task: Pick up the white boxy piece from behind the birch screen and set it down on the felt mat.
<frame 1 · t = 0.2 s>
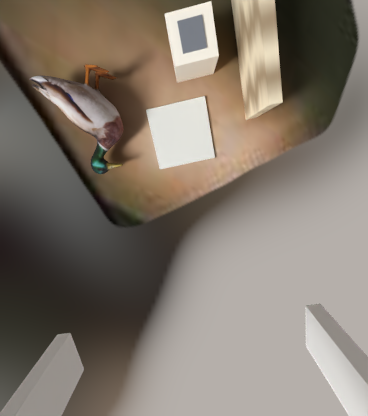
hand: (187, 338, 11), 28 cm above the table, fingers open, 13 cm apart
white boxy piece: (191, 57, 31), on the table
decorative duck model: (91, 123, 34), on the table
felt mat: (181, 134, 34), on the table
birch screen: (242, 51, 31), on the table
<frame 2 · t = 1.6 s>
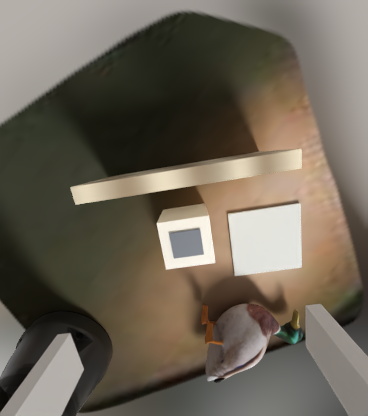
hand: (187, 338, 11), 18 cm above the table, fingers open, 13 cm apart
white boxy piece: (187, 225, 29), on the table
decorative duck model: (239, 324, 33), on the table
felt mat: (265, 240, 29), on the table
birch screen: (185, 170, 27), on the table
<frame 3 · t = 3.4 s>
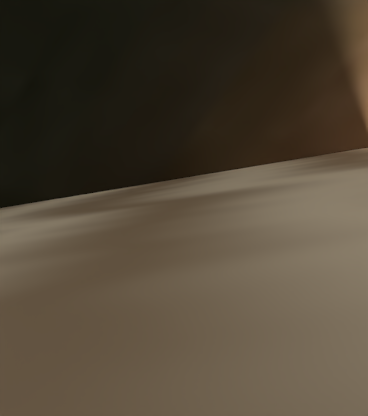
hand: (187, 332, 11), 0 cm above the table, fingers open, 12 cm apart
birch screen: (166, 197, 10), on the table
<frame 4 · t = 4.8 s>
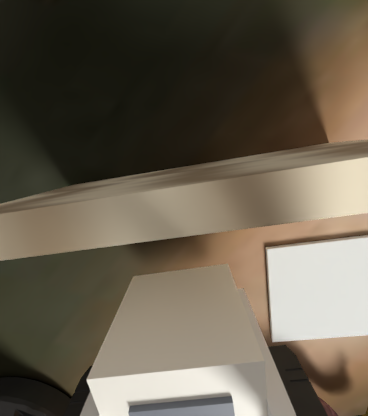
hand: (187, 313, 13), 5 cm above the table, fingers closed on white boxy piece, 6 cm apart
white boxy piece: (187, 309, 13), point 5 cm above the table, touching gripper
felt mat: (325, 290, 18), on the table
birch screen: (195, 175, 16), on the table
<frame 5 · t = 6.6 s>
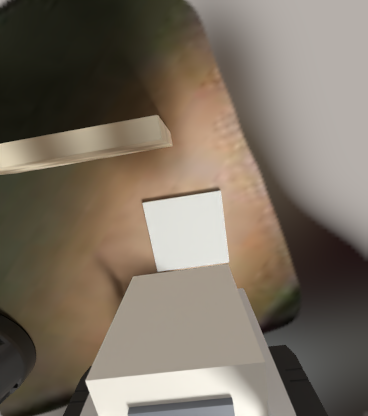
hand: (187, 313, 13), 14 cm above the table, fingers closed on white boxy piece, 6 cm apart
white boxy piece: (187, 310, 13), point 14 cm above the table, touching gripper
felt mat: (187, 232, 26), on the table
birch screen: (90, 153, 24), on the table
when the fingers open (1 cm above the table, at t = 8.8 s): white boxy piece stays where it is, resting on felt mat.
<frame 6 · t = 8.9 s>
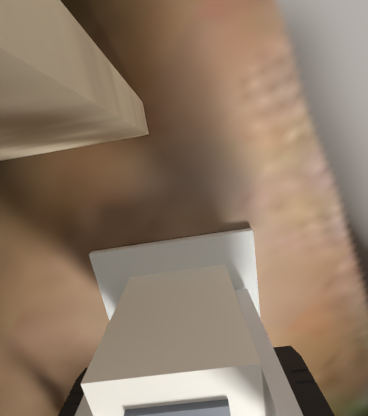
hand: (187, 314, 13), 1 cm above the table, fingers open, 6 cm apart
white boxy piece: (184, 310, 13), resting on felt mat
felt mat: (182, 307, 13), on the table
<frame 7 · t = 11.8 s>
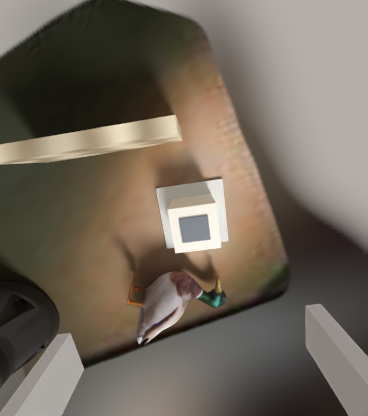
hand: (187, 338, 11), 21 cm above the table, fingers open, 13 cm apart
white boxy piece: (194, 215, 31), resting on felt mat
decorative duck model: (174, 293, 35), on the table
felt mat: (193, 214, 31), on the table
birch screen: (113, 146, 29), on the table
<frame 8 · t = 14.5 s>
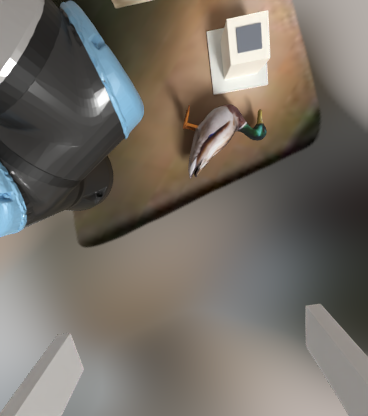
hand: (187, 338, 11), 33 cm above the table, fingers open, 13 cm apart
white boxy piece: (238, 58, 35), resting on felt mat
decorative duck model: (217, 145, 40), on the table
felt mat: (237, 59, 36), on the table
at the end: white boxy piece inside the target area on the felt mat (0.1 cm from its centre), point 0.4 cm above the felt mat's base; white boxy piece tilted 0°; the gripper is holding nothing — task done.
